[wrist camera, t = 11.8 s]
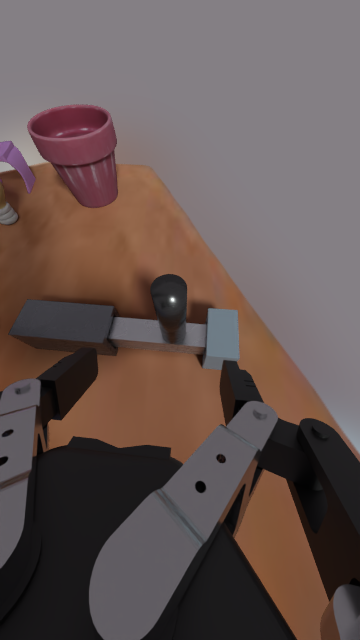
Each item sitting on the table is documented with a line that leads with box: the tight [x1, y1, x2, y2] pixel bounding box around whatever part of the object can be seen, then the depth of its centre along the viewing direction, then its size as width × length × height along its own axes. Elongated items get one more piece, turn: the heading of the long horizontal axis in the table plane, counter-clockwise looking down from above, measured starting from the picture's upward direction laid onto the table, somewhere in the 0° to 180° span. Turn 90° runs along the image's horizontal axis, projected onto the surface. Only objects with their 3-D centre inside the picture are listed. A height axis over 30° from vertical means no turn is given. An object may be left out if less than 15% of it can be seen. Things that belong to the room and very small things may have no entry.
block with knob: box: [106, 274, 207, 355], centre depth 21 cm, size 18×3×12 cm, turn 84°
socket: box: [202, 308, 239, 370], centre depth 25 cm, size 4×6×6 cm, turn 174°
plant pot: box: [27, 105, 118, 208], centre depth 39 cm, size 14×14×13 cm
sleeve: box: [8, 299, 120, 356], centre depth 26 cm, size 12×5×5 cm, turn 84°
